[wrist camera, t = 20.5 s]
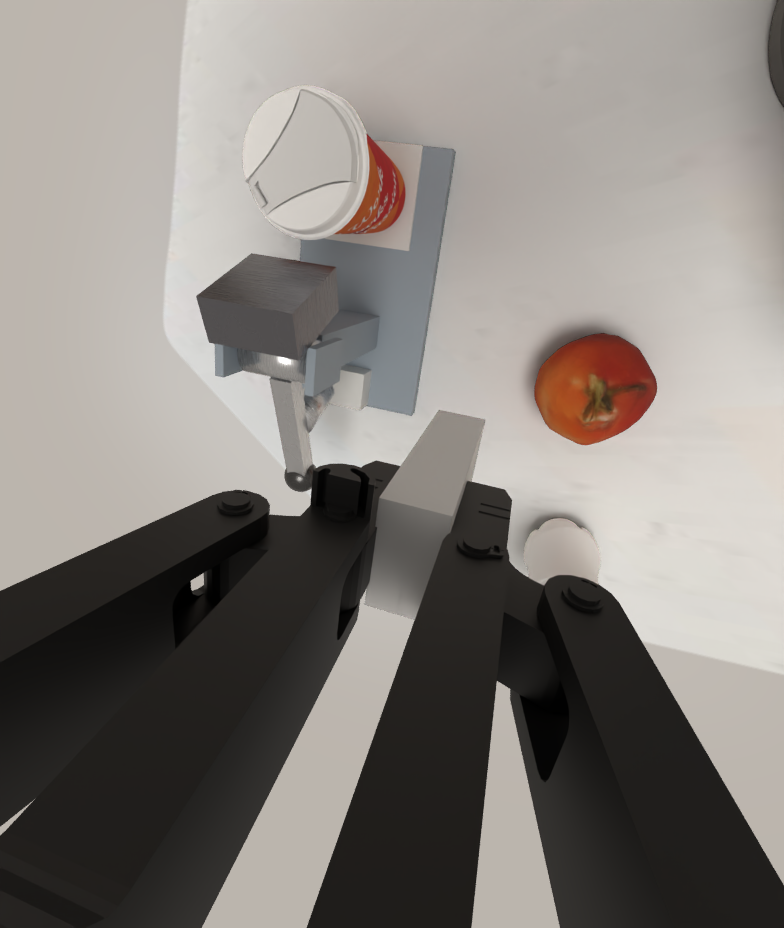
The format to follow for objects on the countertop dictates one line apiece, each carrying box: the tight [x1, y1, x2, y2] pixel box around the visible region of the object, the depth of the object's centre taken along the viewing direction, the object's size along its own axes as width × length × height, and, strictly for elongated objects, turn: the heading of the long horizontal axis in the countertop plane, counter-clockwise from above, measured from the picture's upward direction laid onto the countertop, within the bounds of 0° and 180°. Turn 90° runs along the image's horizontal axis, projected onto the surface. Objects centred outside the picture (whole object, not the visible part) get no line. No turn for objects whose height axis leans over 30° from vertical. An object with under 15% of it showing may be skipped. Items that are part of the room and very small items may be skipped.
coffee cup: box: [242, 85, 405, 240], centre depth 35 cm, size 8×8×15 cm
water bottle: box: [524, 518, 601, 585], centre depth 40 cm, size 7×7×25 cm
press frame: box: [215, 140, 456, 416], centre depth 38 cm, size 23×13×20 cm, turn 172°
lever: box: [196, 254, 339, 492], centre depth 37 cm, size 18×6×9 cm, turn 172°
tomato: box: [535, 333, 657, 445], centre depth 41 cm, size 9×9×8 cm
